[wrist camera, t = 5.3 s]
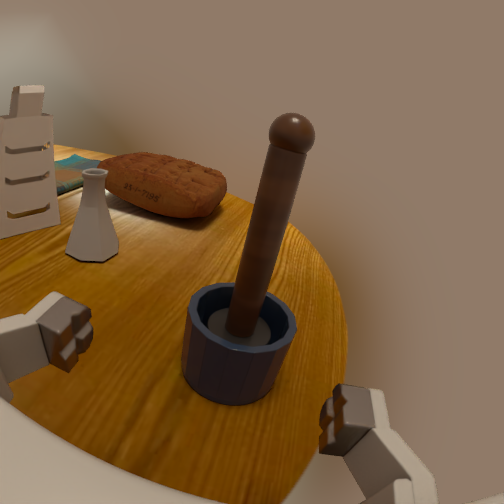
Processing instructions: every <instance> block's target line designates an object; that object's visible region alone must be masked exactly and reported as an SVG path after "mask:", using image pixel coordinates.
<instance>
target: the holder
mask: <svg viewBox="0 0 504 504" xmlns="http://www.w3.org/2000/svg"><path fill="white" fill-rule="evenodd" d="M234 285H235V283H216V284H212V285H209V286H205V287H202V288H201V289H200V290H199V291H197V292H196V293H195V294H194V295H192V297H191V300H190V303H189V306H188V311H187V318H186V325H185V333H184V341H183V349H182V357H181V361H182V362H181V363H182V372H183V374H184V377H185V379H186V380H187V382H188V383H189V385H190V386H191V387H192V388H193V389H194V390H195V391H196V392H198V393H199V394H200V395H202V396H204V397H205V398H207V399H209V400H211V401H214V402H217V403H221V404H226V405H244V404H249V403H252V402H255V401H257V400H259V399H261V398H262V397H263V396H265V395H266V394H267V393H268V392H269V390H270V389H271V387H272V385H273V383H274V381H275V379H276V377H277V375H278V373H279V370H280V368H281V366H282V364H283V361H284V359H285V357H286V355H287V352H288V350H289V348H290V345H291V343H292V341H293V338H294V336H295V333H296V331H297V327H296V321H295V316H294V314H293V313H292V312H291V310H290V309H289V308H288V306H287V305H286V304H285V303H284V302H282V301H281V300H280V299H278V298H277V297H276V296H274V295H273V294H271V293H269V292H266V296H265V299H264V302H263V305H262V308H261V312H260V315H259V317H261V318H262V319H263V320H264V321H265V322H266V323H267V324H268V326H269V328H270V331H271V339H270V342H269V344H268V345H263V346H254V347H251V346H246V345H240V344H235V343H231V342H229V341H227V340H225V339H223V338H221V337H219V336H217V335H215V334H213V333H212V332H211V331H210V330H209V329H208V328H207V322H208V319H209V317H210V316H211V315H212V314H213V313H214V312H216V311H218V310H221V309H225V308H229V306H230V302H231V298H232V294H233V290H234Z"/></svg>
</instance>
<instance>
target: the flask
mask: <svg viewBox="0 0 504 504" xmlns="http://www.w3.org/2000/svg"><path fill="white" fill-rule="evenodd" d="M107 175H108V171H107V170H104V169H96V168H90V169H86V170H83V172H82V178H84V183H83V192H82V197H81V202H80V206H79V209H78V212H77V216H76V219H75V222H74V225H73V228H72V231H71V234H70V237H69V241H68V244H67V247H66V251H65V253H67V254H69V255H71V256H73V257H75V258H77V259H79V260H84V261H105V260H106V259H108V258H110V257H111V256H113V255H114V254H116V253H118V245H119V241H118V238H117V235H116V232H115V229H114V226H113V223H112V220H111V217H110V214H109V210H108V206H107V203H106V196H105V178H106V177H107Z"/></svg>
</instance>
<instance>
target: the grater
mask: <svg viewBox="0 0 504 504" xmlns="http://www.w3.org/2000/svg"><path fill="white" fill-rule="evenodd" d="M43 97H44V85H34V86H32V85H30V86H17V87H14V88H13V92H12V97H11V104H10V113H9V115H4V116H0V239H2V238H6V237H10V236H14V235H18V234H22V233H26V232H30V231H34V230H38V229H42V228H46V227H50V226H55V225H59V224H61V222H60V215H59V207H58V199H57V190H56V179H55V167H54V149H53V115H49V114H45V113H41V112H42V104H43ZM46 143H47V145H48V144H49V145H50V147H49V148H48V147H47V148H46V146H44V145H45V144H46ZM5 145H6V146H5ZM42 148H43V151H42ZM48 170H49V172H48ZM46 174H48V175H49V177H46V176H45V175H46ZM43 177H44V180H43ZM48 203H49V205H48ZM44 207H46V208H47V209H48V210H47V211H45V212H43V213H39V214H34V215H30V216H25V217H21V218H16V219H11V218H8V217H7V211H8V212H10V213H12V214H16V213H21V212H25V211H30V210H35V209H39V208H44Z"/></svg>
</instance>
